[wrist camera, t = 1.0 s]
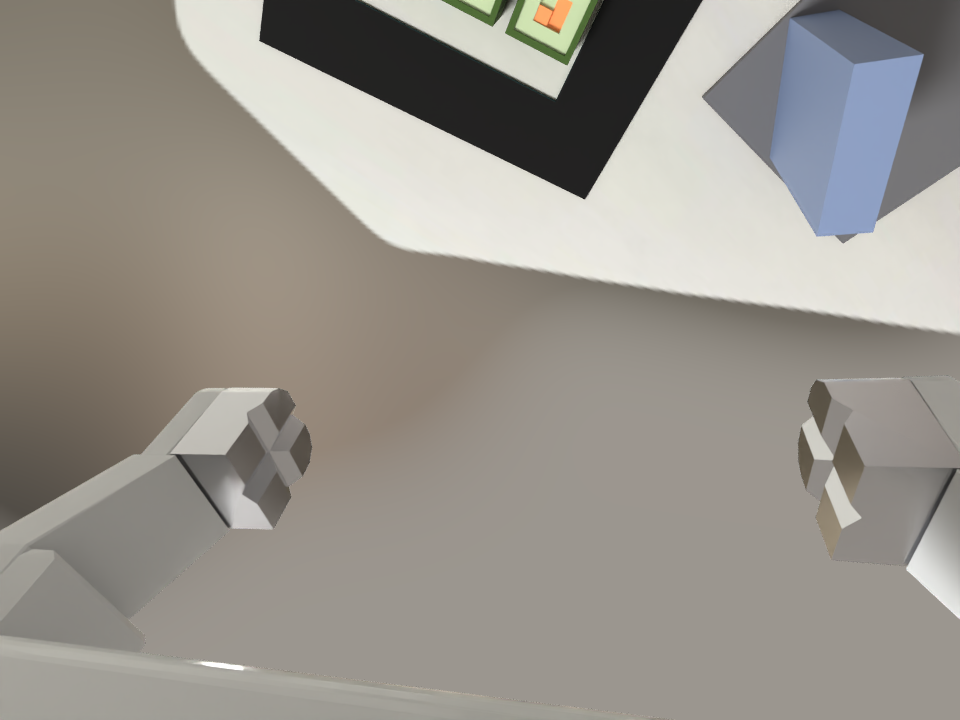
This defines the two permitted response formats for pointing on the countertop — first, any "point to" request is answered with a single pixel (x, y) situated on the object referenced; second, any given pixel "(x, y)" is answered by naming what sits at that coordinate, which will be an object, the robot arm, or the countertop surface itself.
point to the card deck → (840, 118)
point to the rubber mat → (932, 111)
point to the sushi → (498, 73)
